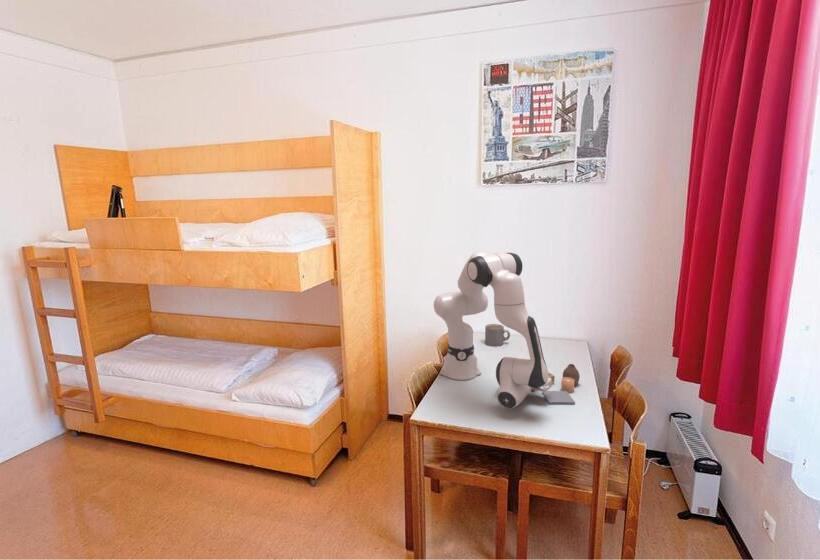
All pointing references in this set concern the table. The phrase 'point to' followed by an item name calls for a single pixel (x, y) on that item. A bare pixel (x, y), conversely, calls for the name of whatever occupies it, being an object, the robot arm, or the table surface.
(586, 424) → the table surface
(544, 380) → the robot arm
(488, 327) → the coffee mug
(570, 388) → the peach rounded cylinder
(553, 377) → the oak cube
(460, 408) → the table surface
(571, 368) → the vase
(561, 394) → the grey pad
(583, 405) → the table surface
